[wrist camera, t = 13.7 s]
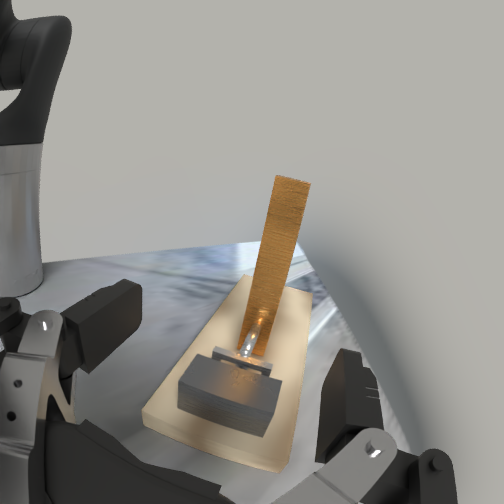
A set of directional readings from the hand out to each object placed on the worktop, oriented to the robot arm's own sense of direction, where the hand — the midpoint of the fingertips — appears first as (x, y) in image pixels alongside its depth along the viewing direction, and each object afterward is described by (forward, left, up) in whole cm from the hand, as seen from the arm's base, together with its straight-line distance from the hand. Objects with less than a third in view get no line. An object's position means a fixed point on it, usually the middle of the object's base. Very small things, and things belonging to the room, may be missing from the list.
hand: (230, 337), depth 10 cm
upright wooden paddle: (0, +11, -9) cm, 14 cm away
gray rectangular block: (0, +5, -10) cm, 11 cm away
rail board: (0, +14, -11) cm, 18 cm away
